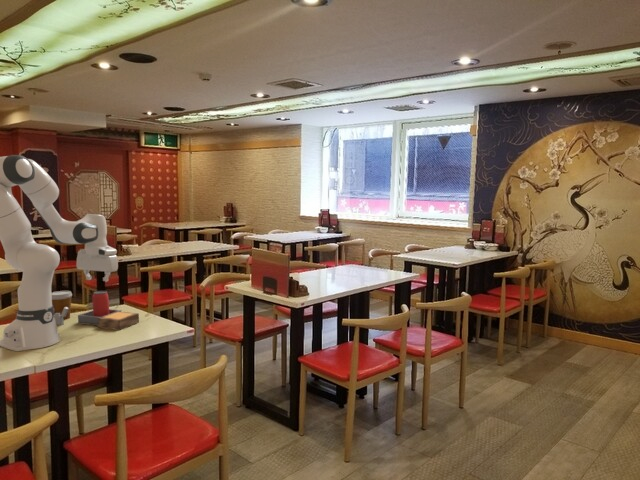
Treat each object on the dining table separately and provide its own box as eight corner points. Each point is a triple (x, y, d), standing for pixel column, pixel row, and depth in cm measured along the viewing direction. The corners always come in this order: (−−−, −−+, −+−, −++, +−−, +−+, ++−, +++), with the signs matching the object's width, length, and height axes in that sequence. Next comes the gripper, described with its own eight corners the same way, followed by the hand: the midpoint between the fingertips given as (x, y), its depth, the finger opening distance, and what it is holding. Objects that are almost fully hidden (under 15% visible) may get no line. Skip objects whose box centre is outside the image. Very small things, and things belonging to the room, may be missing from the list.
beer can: (103, 320, 214) (102, 294, 212) (90, 319, 215) (88, 293, 213) (112, 316, 220) (111, 290, 219) (99, 315, 221) (98, 290, 220)
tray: (78, 322, 213) (77, 315, 212) (99, 315, 225) (99, 308, 224) (101, 325, 209) (100, 317, 208) (121, 317, 221) (121, 310, 220)
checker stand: (98, 327, 206) (97, 318, 206) (117, 320, 217) (117, 311, 217) (120, 329, 202) (120, 320, 202) (139, 322, 213) (138, 313, 213)
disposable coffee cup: (54, 316, 224) (52, 291, 222) (76, 315, 225) (75, 290, 224) (47, 322, 214) (45, 295, 213) (70, 320, 216) (68, 294, 215)
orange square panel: (102, 320, 207) (102, 317, 207) (117, 314, 215) (117, 312, 215) (119, 321, 204) (119, 319, 204) (134, 316, 212) (134, 313, 212)
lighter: (52, 325, 209) (51, 307, 209) (55, 324, 211) (54, 306, 210) (67, 325, 209) (66, 307, 208) (70, 324, 210) (69, 306, 209)
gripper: (72, 249, 213) (73, 280, 215) (109, 251, 207) (110, 283, 208) (83, 248, 219) (84, 277, 220) (120, 250, 213) (120, 281, 214)
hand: (97, 280), depth 214 cm, fingers open, 8 cm apart
